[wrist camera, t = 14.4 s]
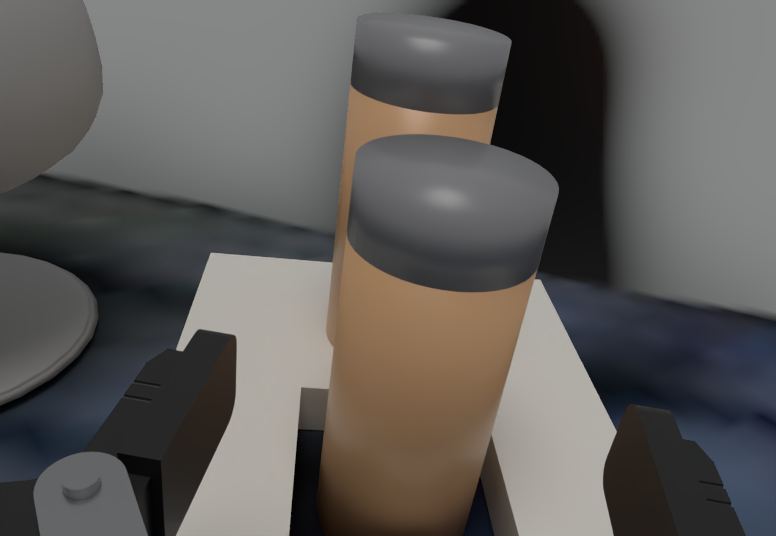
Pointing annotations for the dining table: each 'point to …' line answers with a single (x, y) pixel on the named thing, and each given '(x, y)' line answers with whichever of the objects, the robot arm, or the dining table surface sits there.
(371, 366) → the grey-capped tan peg
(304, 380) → the white board with post
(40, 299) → the chalice
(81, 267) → the dining table surface
